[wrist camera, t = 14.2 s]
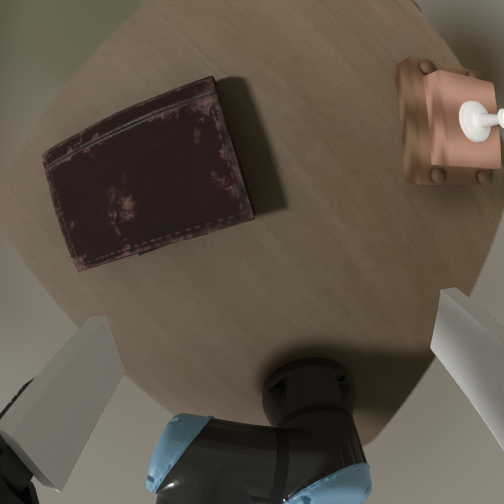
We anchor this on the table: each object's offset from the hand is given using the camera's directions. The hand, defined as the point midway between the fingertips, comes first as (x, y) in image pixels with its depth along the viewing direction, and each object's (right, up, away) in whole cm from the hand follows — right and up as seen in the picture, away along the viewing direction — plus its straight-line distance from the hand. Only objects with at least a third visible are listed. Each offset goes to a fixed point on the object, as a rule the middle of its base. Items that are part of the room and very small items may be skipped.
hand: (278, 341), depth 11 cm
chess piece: (+24, +18, +15) cm, 34 cm away
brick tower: (+25, +21, +23) cm, 40 cm away
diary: (-15, +13, +27) cm, 34 cm away
